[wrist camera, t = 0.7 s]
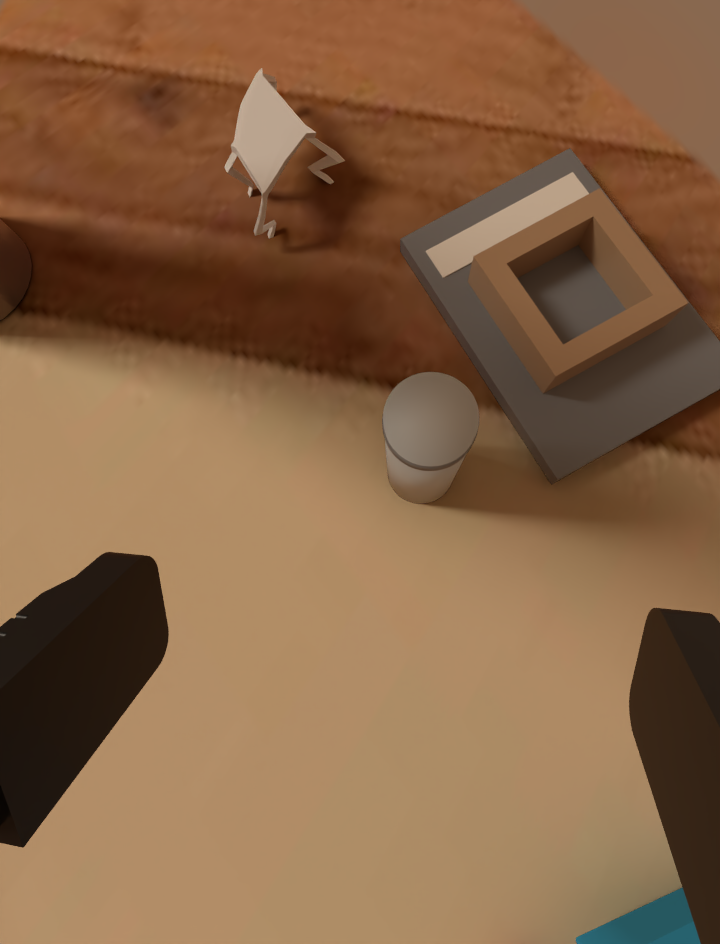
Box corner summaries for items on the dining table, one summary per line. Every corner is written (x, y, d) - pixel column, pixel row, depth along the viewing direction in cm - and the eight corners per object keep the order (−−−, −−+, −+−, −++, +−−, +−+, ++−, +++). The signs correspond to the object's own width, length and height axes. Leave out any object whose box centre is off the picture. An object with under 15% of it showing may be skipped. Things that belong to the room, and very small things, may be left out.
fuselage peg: (374, 459, 37) (364, 399, 26) (432, 427, 38) (448, 354, 26) (407, 516, 36) (412, 482, 25) (466, 483, 37) (499, 434, 25)
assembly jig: (400, 251, 41) (400, 210, 36) (564, 163, 41) (583, 113, 37) (551, 484, 36) (572, 470, 32) (731, 382, 37) (776, 355, 32)
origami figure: (361, 216, 42) (356, 167, 37) (256, 253, 41) (237, 209, 37) (311, 93, 44) (301, 33, 39) (212, 128, 44) (190, 71, 39)
